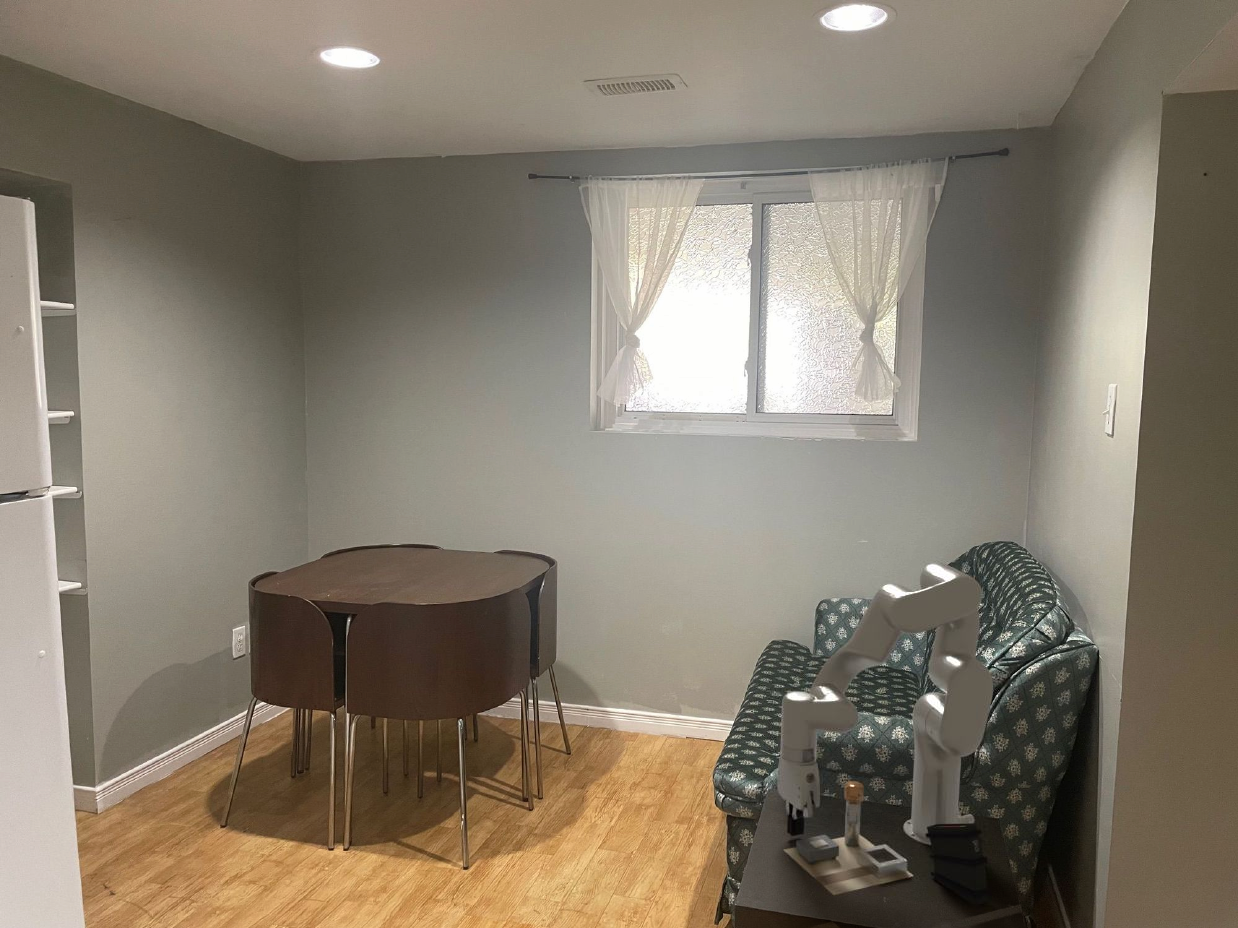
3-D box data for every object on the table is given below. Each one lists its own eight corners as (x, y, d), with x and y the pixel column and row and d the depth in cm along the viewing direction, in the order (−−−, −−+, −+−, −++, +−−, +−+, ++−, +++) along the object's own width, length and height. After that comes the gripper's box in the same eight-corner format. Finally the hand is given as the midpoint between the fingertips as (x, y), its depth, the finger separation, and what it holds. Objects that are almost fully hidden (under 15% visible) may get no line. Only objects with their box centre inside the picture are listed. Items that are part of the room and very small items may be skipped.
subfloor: (858, 837, 205) (858, 833, 205) (913, 880, 189) (913, 875, 188) (783, 854, 198) (783, 849, 198) (833, 899, 181) (833, 894, 181)
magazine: (987, 911, 175) (964, 826, 180) (938, 907, 186) (917, 827, 191) (1002, 906, 177) (978, 822, 181) (952, 902, 188) (931, 823, 192)
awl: (853, 837, 203) (856, 779, 202) (864, 846, 200) (867, 787, 198) (838, 840, 202) (841, 782, 200) (849, 849, 198) (852, 790, 197)
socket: (884, 855, 196) (885, 843, 196) (906, 872, 190) (907, 860, 189) (856, 861, 193) (857, 850, 193) (878, 879, 187) (878, 867, 187)
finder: (824, 847, 199) (825, 832, 198) (838, 859, 194) (839, 844, 194) (796, 853, 196) (796, 838, 196) (809, 865, 192) (810, 850, 191)
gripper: (833, 762, 195) (830, 846, 197) (794, 735, 209) (791, 814, 211) (802, 767, 192) (799, 853, 194) (764, 740, 206) (762, 820, 208)
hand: (795, 833), depth 203 cm, fingers closed
